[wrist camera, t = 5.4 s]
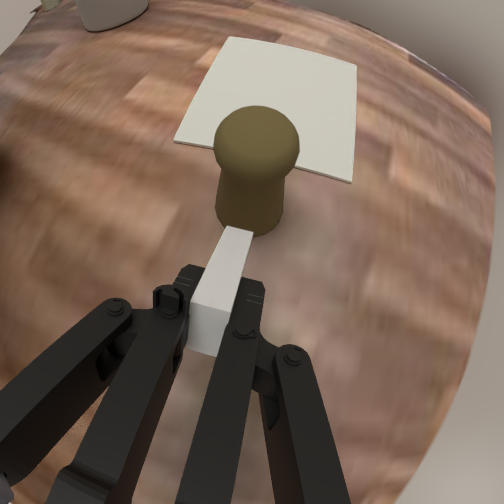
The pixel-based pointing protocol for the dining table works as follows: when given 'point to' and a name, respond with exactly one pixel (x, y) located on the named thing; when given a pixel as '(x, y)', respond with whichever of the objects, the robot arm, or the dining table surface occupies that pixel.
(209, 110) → the felt mat
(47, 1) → the skincare box
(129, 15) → the cylinder vase
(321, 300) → the dining table surface
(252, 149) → the cork
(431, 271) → the dining table surface
